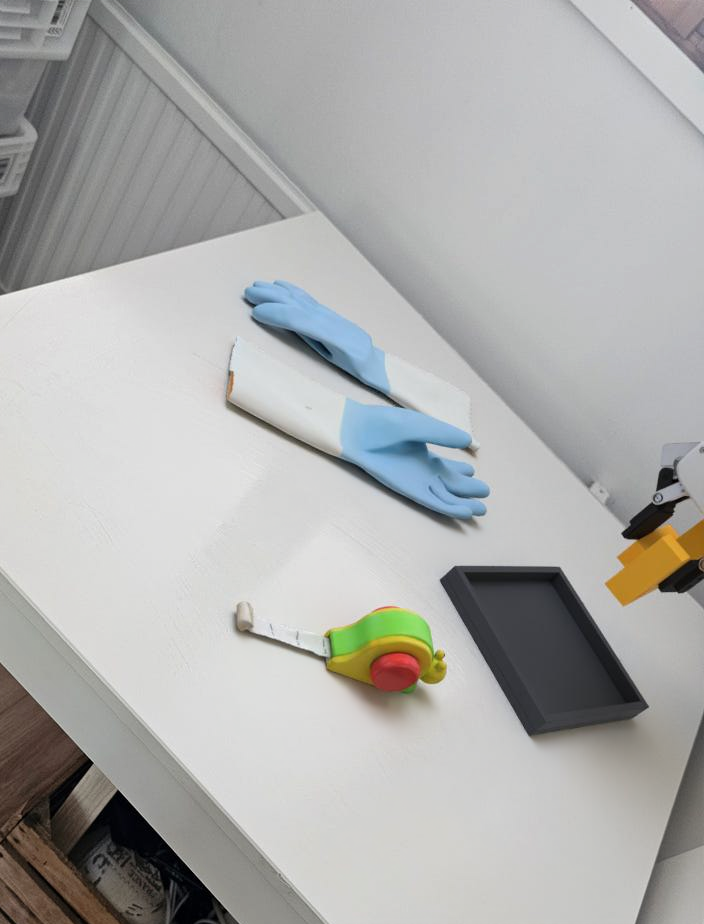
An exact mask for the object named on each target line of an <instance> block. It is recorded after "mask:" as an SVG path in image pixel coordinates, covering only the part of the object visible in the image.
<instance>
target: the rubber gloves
mask: <svg viewBox="0 0 704 924" xmlns="http://www.w3.org/2000/svg"><path fill="white" fill-rule="evenodd" d="M243 293H244V297H245V299H246V300H247V301H249V303H251V304H253V305H256V306H254V307H253V308H252V310H251V315H252V318H254V319H255V320H256V321H257V322H259V323H261V324H265V325H270V326H274V327H278V328H281V329H285V330H289V331H293V332H294V333H295V334H297V335H298V336H299V337H300V339H302V340H303V341H304V342H305V343H306V344H308V345H309V346H310V347H311V348H312V349H313V350H314V351H316V352H317V353H318V354H319V355H320V356H321V357H323V358H324V359H325V360H327V361H328V362H329V363H331V364H333V365H335V366H337V367H338V368H340V369H342V370H343V371H345V372H347V373H348V374H350V375H351V376H353V377H355V378H356V379H357V380H359V381H360V382H361V383H363V384H365V385H366V386H369V387H371V388H373V389H375V390H377V391H379V392H381V393H383V394H384V395H386V396H387V397H388V398H390V399H391V400H392V401H394V402H395V403H397V405H400V406H401V407H399V406H392V405H381V404H380V405H379V404H366V403H365V404H364V403H361V402H358V401H356V400H354V399H352V398H350V397H348V396H345V395H344V394H342V393H340V392H337V391H335V390H333V389H331V388H329V387H327V386H325V385H324V384H321V383H320V382H318V381H317V380H314V379H312V378H311V377H309V376H307V375H306V374H304V373H302V372H301V371H299V370H297V369H296V368H294V367H292V366H291V365H289V364H287V363H285V362H283V361H281V359H280V360H279V359H278V358H276V357H275V356H273V355H272V354H269V353H268V352H266V351H264V350H263V349H261V348H260V347H258V346H257V345H256V344H255V345H254V344H253V343H252V342H250V341H248V340H246V339H245V338H243V337H241V336H239V335H237V336H236V338H235V341H234V343H233V344H232V348H231V352H230V355H231V356H230V360H229V366H228V367H229V368H228V370H229V373H230V375H229V381H228V382H227V385H228V386H227V391H226V394H227V395H226V401H229V402H230V403H232V404H233V405H235V406H236V407H238V408H240V409H242V410H244V411H245V412H247V413H249V414H251V415H252V416H254V417H256V418H258V419H260V420H262V421H264V422H266V423H267V424H269V425H271V426H273V427H275V428H276V429H278V430H280V431H282V432H283V433H285V434H287V435H289V436H291V437H293V438H295V439H297V440H299V441H301V442H303V443H305V444H306V445H309V446H311V447H313V448H316V449H318V450H319V451H321V452H324V453H325V454H328V455H331V456H334V457H336V458H339V459H341V460H343V461H346V462H349V463H352V464H354V465H356V466H358V467H359V468H361V469H362V470H364V471H365V472H366V473H367V474H368V475H370V476H372V477H373V478H374V479H375V480H377V481H378V482H380V484H382V485H384V486H386V487H387V488H389V489H391V490H392V491H394V492H396V493H398V494H400V495H402V496H404V497H405V498H408V499H410V500H412V501H414V502H415V503H416V504H419V505H420V506H424V507H425V508H427V509H430V510H431V511H435V512H436V513H437V512H438V513H440V514H442V515H446V516H448V517H451V518H452V519H453V518H454V519H462V520H470V519H471V518H472V517H473V516H474V517H485V515H486V514H487V513H488V509H487V506H486V505H485V504H484V502H482V501H480V500H477V499H486V498H488V497H489V496H490V494H491V488H490V486H489V485H488V484H487V483H486V482H485V481H483V480H481V479H478V478H474V477H473V476H474V475H475V469H474V467H473V465H472V464H470V463H467V462H465V461H459V460H458V461H457V460H453V459H450V458H445V457H443V456H440V455H438V454H436V453H435V452H432V451H431V450H429V449H428V445H427V444H430V445H434V446H438V447H444V448H448V449H452V450H453V449H458V450H459V449H466V448H469V449H470V450H472V451H473V452H476V453H477V452H478V451H479V450H480V449H481V443H479V442H477V440H476V437H475V434H474V429H473V427H474V426H473V424H472V421H471V420H472V418H471V415H472V413H471V410H472V407H471V406H472V398H471V395H470V394H468V393H467V392H465V391H463V390H461V388H458V387H456V386H454V385H453V384H451V383H449V382H448V381H445V380H444V379H442V378H440V377H438V376H436V375H435V374H433V373H431V372H430V371H429V372H428V371H427V370H424V369H422V368H420V367H418V366H416V365H414V364H412V363H410V362H408V361H407V360H404V359H403V358H400V357H398V356H396V355H394V354H391V353H389V352H387V351H384V350H383V349H380V348H379V347H376V346H374V344H373V338H372V336H371V335H370V334H369V333H368V332H367V331H366V330H364V329H363V328H362V327H361V326H359V325H357V323H354V322H353V321H351V320H349V319H348V318H347V317H344V316H342V315H341V314H338V313H337V312H336V311H334V310H332V309H331V308H329V307H328V306H326V305H325V304H322V303H320V302H318V300H316V299H315V298H314V297H313V296H311V295H310V293H308V292H306V291H305V290H303V288H301V287H298V286H297V285H295V284H292V283H291V282H288V281H286V280H283V279H277V280H275V281H273V283H272V282H267V281H262V280H254V282H253V283H252V286H248V287H246V288H245V289H244V292H243Z"/></svg>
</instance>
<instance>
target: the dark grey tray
mask: <svg viewBox="0 0 704 924" xmlns="http://www.w3.org/2000/svg"><path fill="white" fill-rule="evenodd" d="M439 581H440V583H441V585H442V586H443V588H444V589H445V591H446V593H447V595H448V596H449V599H450V601H451V602H452V604H453V606H454V607H455V610H456V611H457V612H458V614H459V616H460V617H461V619H462V621H463V623H464V624H465V626H466V628H467V630H468V632H469V633H470V635H471V637H472V638H473V641H474V642H475V644H476V645H477V647H478V649H479V650H480V652H481V654H482V656H483V659H485V661H486V663H487V665H488V666H489V669H491V672H492V674H493V675H494V677H495V679H496V680H497V682H498V684H499V685H500V688H501V689H502V691H503V692H504V694H505V696H506V698H507V699H508V702H509V703H510V705H511V707H512V708H513V710H514V712H515V713H516V715H517V717H518V719H519V720H520V722H521V724H522V725H523V727H524V729H525V731H526V732H527V735H528V736H534V735H540V734H546V733H553V732H557V731H564V730H569V729H570V730H571V729H577V728H583V727H588V726H589V727H590V726H595V725H596V726H597V725H601V724H607V723H613V722H618V721H619V722H620V721H627V720H631V719H632V720H633V719H634V718H635V717H637V716H638V715H640V714H642V713H644V711H646V710H647V709H649V708H650V705H649V704H648V703H647V701H646V699H645V698H644V696H643V694H642V693H641V692H640V689H639V688H638V687H637V685H636V684H635V682H634V680H633V679H632V677H631V676H630V675H629V672H628V670H626V668H625V667H624V665H623V664H622V661H621V660H620V658H619V657H618V655H617V654H616V652H615V650H614V649H613V648H612V646H611V644H610V643H609V642H608V640H607V638H606V636H605V635H604V634H603V632H602V631H601V629H600V627H599V625H598V623H596V621H595V619H594V618H593V616H592V615H591V613H590V612H589V610H588V609H587V608H588V607H586V605H585V603H584V602H583V601H582V599H581V597H580V595H579V594H578V593H577V591H576V590H575V588H574V587H573V585H572V583H571V581H570V580H569V579H568V577H567V576H566V574H565V572H564V570H562V568H561V567H560V566H555V565H554V566H550V565H549V566H543V565H539V566H538V565H537V566H535V565H454V566H453V567H452V568H451V569H449V570H448V571H447V572H446V573H445V574H444V575H443V576H442V577H440V579H439Z"/></svg>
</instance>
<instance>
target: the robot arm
mask: <svg viewBox="0 0 704 924" xmlns="http://www.w3.org/2000/svg"><path fill="white" fill-rule="evenodd" d="M655 487H656V488H655V491H654V493H652V495H651V502H650V503H648V504H647V505H646V506H645V507H644V508H643V509H642V510H640V511H639V512H638V513H636V514H635V515H634V516H633V517H632V518H631V519H630V520H629V521H628V522H629V524H630V525H629V526H627V527H626V528H625V529H624V530H622V531H621V532H620V534H621V536H622V537H623V539H625V540H629V541H630V540H631V541H637V540H639V539H641V538H643V537H645V536H647V535H648V534H650V533H652V532H653V531H655V530H657V529H659V528H660V527H662V526H663V525H664V524H665V523H666V522H667V521H668V520H669V519H671V518H672V517H673V516H674V513H675V512H676V510H674V509H676V507H677V506H679V505H681V504H683V503H686V502H688V501H690V500H691V501H692V502H693V504H694V505H695V506H696V508H697V509H698V511H700V513H701V514H702V516H703V517H704V440H701V441H694V442H692V441H691V442H670V443H665V444H663V446H662V447H661V458H660V470H659V471H658V477H657V482H656V486H655ZM702 581H704V555H703V557H701V558H700V559H698V560H689V561H688V562H687V563H685V564H684V565H683V566H681V567H680V568H679V569H677V570H676V571H675V572H673V573H672V574H671V575H670V576H668V577H667V578H666V579H664V580H663V581H662V582H661V583H659V584H658V589H657V590H658V591H659V592H660V593H661V594H662V593H677V594H679V595H680V594H684V593H686V592H689V591H690V590H691V589H693V588H694V587H695V586H697V585H698V584H699V583H701V582H702Z"/></svg>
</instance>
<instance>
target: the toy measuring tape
mask: <svg viewBox="0 0 704 924" xmlns="http://www.w3.org/2000/svg"><path fill="white" fill-rule="evenodd" d="M236 627H237V629H238V630H239V632H243V631H246V630H247V631H249V632H250V633H252V634H255V635H258V636H259V635H260V636H261V637H263V636H264V637H266V638H269V639H271V640H276V641H279V642H281V643H284V644H287V645H290V646H293V647H295V648H298V649H302V650H305V651H309V652H311V653H313V654H315V655H317V656H318V657H325V663H326V669H327V670H329V671H330V672H334V673H337V674H340V675H342V676H345V677H348V678H350V679H353V680H356V681H359V682H362V683H365V684H368V685H372V686H374V687H376V688H377V689H379V690H381V691H384V692H389V693H390V692H392V693H394V692H395V693H396V692H403V693H405V694H410V693H412V692H414V691H415V690H416V687H417V684H418V681H419V680H420V681H421V682H422V683H425V684H428V685H437V684H439V683H441V682H442V681H443V680H444V679H445V677H446V676H447V672H448V669H447V663H446V662H445V661H444V660H443V659H444V658H445V656H446V654H445V651H444V650H441V649H437V650H436V651H435V648H434V644H433V638H432V632H431V628H430V625H429V623H428V622H427V621H426V620H425V619H424V618H423V617H422V616H421V615H420V614H419V613H417V612H415V611H412V610H410V609H407V608H402V607H399V606H396V605H395V606H394V605H393V606H392V605H387V606H381V607H378V608H375V609H374V610H373V611H371V612H369V613H368V614H366V615H365V616H362V617H361V618H360V619H358V620H357V621H355V622H353V623H351V624H348V625H345V626H340V627H333V628H330V629H328V630H327V631H326V632H325V633H324V635H321V634H320V633H318V632H312V631H309V630H303V629H297V628H294V627H291V626H286V625H283V624H279V623H276V622H273V621H271V620H269V619H266V618H263V617H259V616H255V615H254V608H253V606H252V604H251V603H250V602H247V601H240V602H238V603H237V604H236Z"/></svg>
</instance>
